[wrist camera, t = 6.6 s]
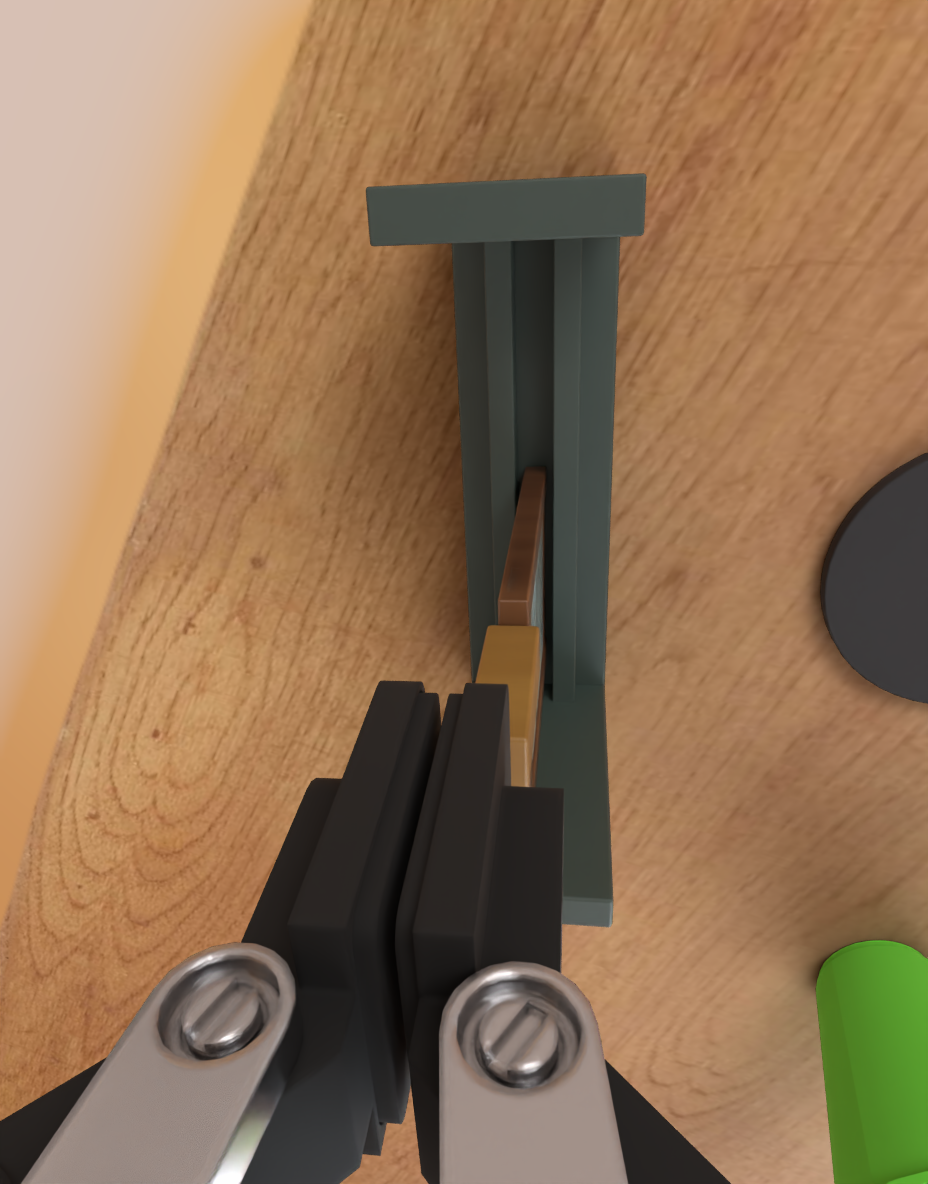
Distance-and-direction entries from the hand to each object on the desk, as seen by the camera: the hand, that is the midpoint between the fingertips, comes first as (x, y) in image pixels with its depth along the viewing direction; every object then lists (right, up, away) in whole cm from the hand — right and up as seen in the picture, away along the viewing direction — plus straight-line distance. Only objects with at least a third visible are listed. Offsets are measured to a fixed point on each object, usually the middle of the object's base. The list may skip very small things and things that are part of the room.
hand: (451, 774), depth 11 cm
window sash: (+3, +3, +18) cm, 19 cm away
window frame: (+3, +7, +18) cm, 20 cm away
